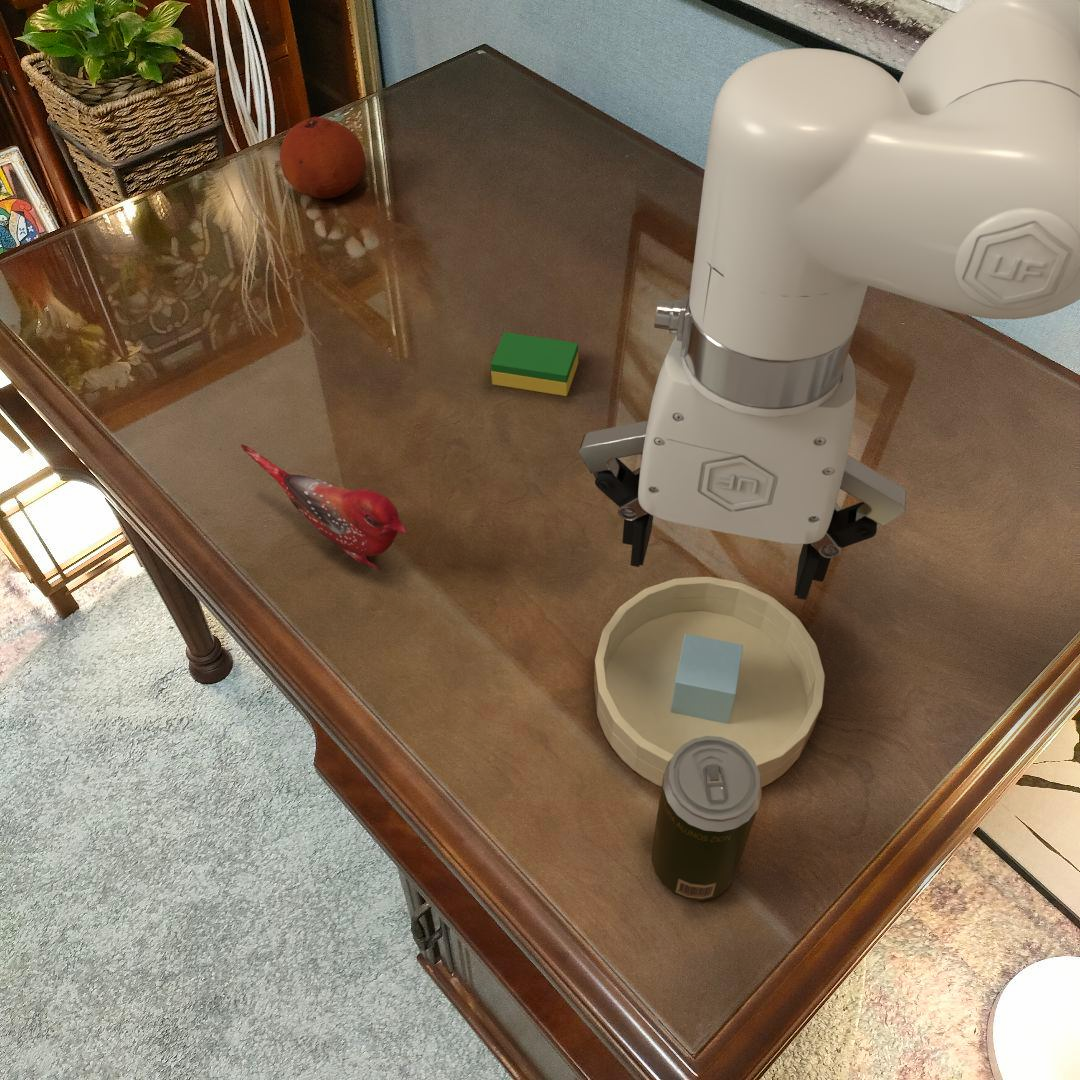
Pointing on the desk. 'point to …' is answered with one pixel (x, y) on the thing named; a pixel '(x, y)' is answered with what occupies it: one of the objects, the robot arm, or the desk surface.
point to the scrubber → (534, 364)
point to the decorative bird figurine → (340, 511)
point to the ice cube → (707, 678)
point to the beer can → (704, 816)
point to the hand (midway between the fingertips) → (720, 564)
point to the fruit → (322, 158)
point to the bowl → (652, 662)
